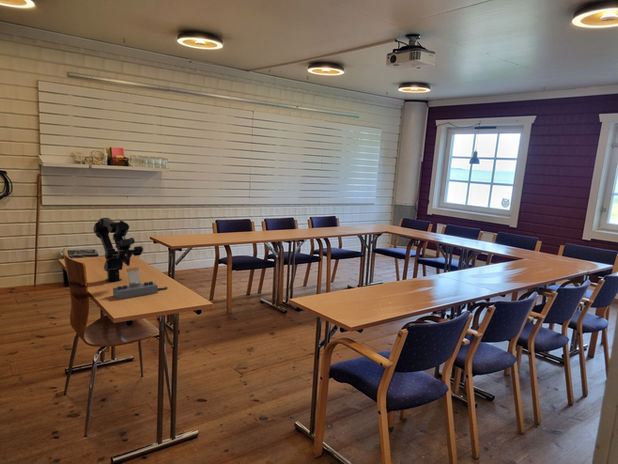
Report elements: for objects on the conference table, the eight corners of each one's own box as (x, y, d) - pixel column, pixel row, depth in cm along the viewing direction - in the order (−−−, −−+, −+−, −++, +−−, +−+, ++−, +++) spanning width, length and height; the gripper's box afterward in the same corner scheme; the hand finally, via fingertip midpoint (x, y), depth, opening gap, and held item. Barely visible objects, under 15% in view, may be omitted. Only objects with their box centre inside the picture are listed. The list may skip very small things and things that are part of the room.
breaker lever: (129, 286, 223) (126, 268, 224) (139, 285, 226) (136, 267, 227) (130, 286, 221) (127, 268, 222) (141, 284, 225) (138, 267, 226)
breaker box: (113, 295, 220) (112, 285, 219) (163, 287, 238) (163, 277, 238) (118, 299, 214) (118, 289, 213) (170, 290, 233) (170, 280, 232)
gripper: (105, 234, 223) (113, 258, 217) (141, 231, 236) (150, 254, 230) (101, 246, 230) (108, 270, 224) (136, 243, 243) (144, 266, 237)
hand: (128, 265), depth 228 cm, fingers closed
